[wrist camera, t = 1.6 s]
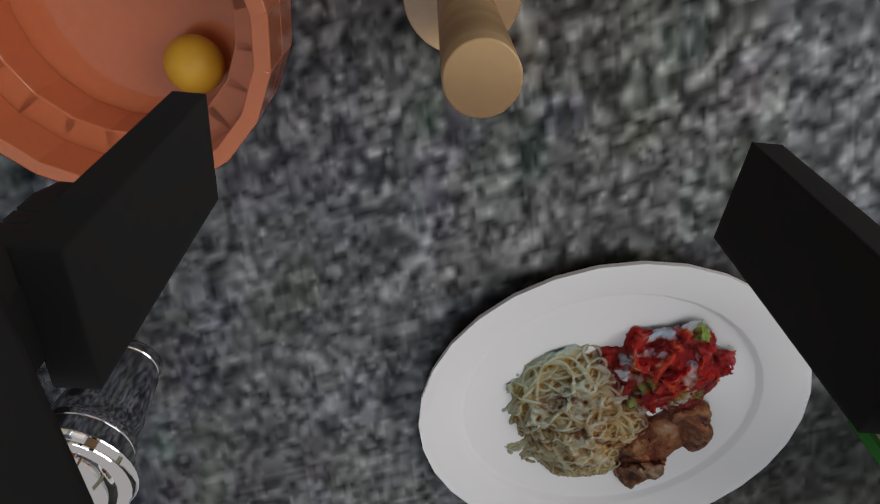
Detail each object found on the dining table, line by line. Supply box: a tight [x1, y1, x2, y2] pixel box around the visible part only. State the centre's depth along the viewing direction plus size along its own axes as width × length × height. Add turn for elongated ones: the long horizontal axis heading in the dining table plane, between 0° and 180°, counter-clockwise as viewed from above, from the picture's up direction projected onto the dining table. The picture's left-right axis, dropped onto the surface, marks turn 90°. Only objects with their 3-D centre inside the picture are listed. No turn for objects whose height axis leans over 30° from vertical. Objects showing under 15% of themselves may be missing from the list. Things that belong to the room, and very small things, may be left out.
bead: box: [163, 34, 225, 94], centre depth 32 cm, size 3×3×3 cm
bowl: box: [0, 0, 292, 182], centre depth 29 cm, size 17×17×6 cm
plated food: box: [419, 261, 812, 504], centre depth 48 cm, size 30×30×3 cm
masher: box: [403, 0, 523, 118], centre depth 26 cm, size 6×6×15 cm
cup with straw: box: [51, 340, 163, 504], centre depth 37 cm, size 8×9×20 cm
